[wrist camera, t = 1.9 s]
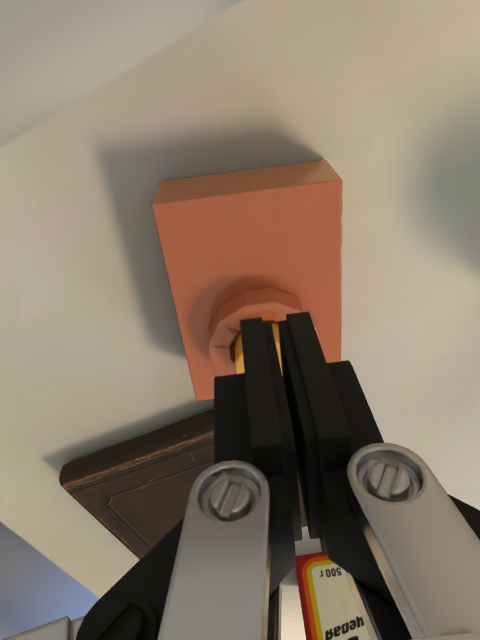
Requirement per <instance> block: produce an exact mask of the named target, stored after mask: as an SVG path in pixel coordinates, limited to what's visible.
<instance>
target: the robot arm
mask: <svg viewBox="0 0 480 640" xmlns="http://www.w3.org/2000/svg"><path fill="white" fill-rule="evenodd" d="M240 328H241V339H242V350H243V360H244V371H245V373H240V374H232V375H224V376H216V377H215V378H214V465H212V466H210V467H209V468H208V469H206V470H205V471H203V472H202V473H201V474H200V475H199V476H198V478H197V479H196V480H195V481H194V483H193V486H192V488H191V491H190V494H189V499H188V503H187V508H186V513H185V517H184V518H183V519H182V520H181V521H180V522H179V523H178V524H177V525H175V526H174V527H173V528H172V529H171V530H170V531H169V532H168V533H167V534H166V535H165V536H164V537H163V538H162V539H161V540H160V541H159V542H158V543H157V544H156V545H155V546H154V547H153V548H152V549H151V550H150V551H149V552H148V553H147V554H146V555H145V556H144V557H143V558H142V559H141V560H139V561H138V562H137V563H136V564H135V565H134V566H133V567H132V568H131V569H130V570H129V571H128V572H127V573H126V574H125V575H124V576H123V577H122V578H121V579H120V580H119V581H118V582H117V583H116V584H115V585H114V586H113V587H112V588H111V589H110V590H109V591H108V592H107V593H106V594H104V595H103V596H102V597H101V598H100V599H99V600H98V601H97V602H96V603H95V605H94V606H93V607H92V608H91V609H90V611H89V612H88V613H87V614H86V616H83V617H80V618H77V619H75V620H72V621H71V620H70V619H69V617H68V616H66V617H63V618H61V619H58V620H55V621H52V622H49V623H47V624H44V625H41V626H38V627H36V628H33V629H30V630H27V631H25V632H22V633H19V634H16V635H13V636H11V637H8V638H5V639H2V640H281V601H282V587H281V582H282V580H283V579H284V578H285V577H286V575H287V574H288V573H289V571H290V570H291V569H292V567H293V566H294V565H295V564H296V554H295V543H294V541H299V540H302V529H301V514H300V500H299V486H298V479H299V485H300V490H301V495H302V500H303V505H304V511H305V516H306V521H307V526H308V532H309V536H310V539H316V538H320V543H321V548H322V553H323V554H328V559H329V560H331V561H332V562H334V563H335V564H336V565H338V566H339V567H341V568H342V569H343V570H345V572H346V576H347V581H348V584H349V586H350V589H351V591H352V594H353V596H354V599H355V601H356V604H357V606H358V609H359V611H360V614H361V616H362V619H363V621H364V624H365V626H366V629H367V631H368V634H369V636H370V639H371V640H480V510H478V509H476V508H474V507H472V506H470V505H468V504H466V503H464V502H462V501H460V500H458V499H456V498H454V497H452V496H450V495H448V494H447V493H446V491H445V490H444V488H443V487H442V486H441V484H440V483H439V481H438V480H437V478H436V477H435V476H434V474H433V473H432V471H431V470H430V468H429V467H428V466H427V464H426V463H425V462H424V461H423V460H422V459H421V458H420V457H419V456H418V455H417V454H415V453H414V452H412V451H411V450H409V449H407V448H405V447H402V446H399V445H396V444H390V443H384V441H383V439H382V436H381V434H380V431H379V429H378V427H377V424H376V422H375V419H374V417H373V415H372V412H371V410H370V407H369V405H368V403H367V400H366V398H365V395H364V393H363V391H362V388H361V386H360V384H359V381H358V379H357V376H356V374H355V372H354V369H353V367H352V365H351V363H350V362H349V361H348V360H347V361H339V362H331V363H327V362H326V359H325V356H324V353H323V351H322V348H321V345H320V342H319V339H318V336H317V333H316V330H315V327H314V324H313V322H312V319H311V316H310V313H309V312H308V311H307V312H299V313H291V314H286V320H283V321H278V329H279V341H280V353H281V365H282V372H281V367H280V362H279V358H278V353H277V348H276V343H275V338H274V333H273V328H272V323H271V322H267V323H263V321H262V317H259V318H251V319H243V320H240Z"/></svg>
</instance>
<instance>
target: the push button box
mask: <svg viewBox="0 0 480 640" xmlns="http://www.w3.org/2000/svg"><path fill="white" fill-rule="evenodd" d="M152 208H153V213H154V217H155V221H156V226H157V230H158V234H159V239H160V243H161V248H162V252H163V256H164V261H165V265H166V270H167V274H168V278H169V283H170V287H171V292H172V296H173V300H174V305H175V309H176V313H177V318H178V322H179V327H180V331H181V335H182V340H183V344H184V349H185V353H186V357H187V362H188V366H189V371H190V375H191V379H192V384H193V388H194V392H195V397H196V400H197V401H201V400H209V399H214V378H215V377H216V376H224V375H232V374H236V368H235V352H234V345H235V341H236V339H237V337H238V335H239V334H240V333H241V328H240V320H243V319H251V318H259V317H262V321H263V322H272V323H276V324H278V321H283V320H286V314H291V313H299V312H307V311H308V312H309V313H310V316H311V319H312V322H313V324H314V327H315V330H316V333H317V336H318V339H319V342H320V345H321V348H322V351H323V353H324V356H325V359H326V362H327V363H331V362H339V361H341V308H342V179H341V178H340V177H339V175H338V174H337V173H336V172H335V171H334V169H333V168H332V167H331V166H330V164H329V163H328V162H327V161H326V160H320V161H312V162H304V163H297V164H289V165H282V166H274V167H266V168H259V169H251V170H244V171H236V172H228V173H221V174H213V175H206V176H198V177H190V178H183V179H175V180H167V181H160V183H159V185H158V188H157V191H156V194H155V197H154V200H153V203H152Z"/></svg>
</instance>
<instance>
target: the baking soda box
mask: <svg viewBox="0 0 480 640" xmlns="http://www.w3.org/2000/svg"><path fill="white" fill-rule="evenodd" d="M295 567H296V574H297V581H298V587H299V594H300V600H301V607H302V614H303V620H304V627H305V634H306V640H371V639H370V636H369V634H368V631H367V629H366V626H365V624H364V621H363V619H362V616H361V614H360V611H359V609H358V606H357V604H356V601H355V599H354V596H353V594H352V591H351V589H350V586H349V584H348V581H347V576H346V572H345V570H343V569H342V568H341V567H339V566H338V565H336V564H335V563H334V562H332V561H331V560H329V559H328V554H323V553H316V554H310V555H304V556H299V557H296V564H295Z"/></svg>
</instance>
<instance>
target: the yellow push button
mask: <svg viewBox="0 0 480 640" xmlns="http://www.w3.org/2000/svg"><path fill="white" fill-rule="evenodd" d="M263 323H267V322H263ZM271 323H272V322H271ZM272 328H273V333H274V338H275V343H276V348H277V353H278V358H279V362H280V367H281V372H282V365H281V353H280V341H279V329H278V324H276V323H272ZM234 352H235V368H236V374H240V373H245V371H244V360H243V350H242V339H241V333H240V334H239V335H238V337H237V339H236V341H235V345H234Z"/></svg>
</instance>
